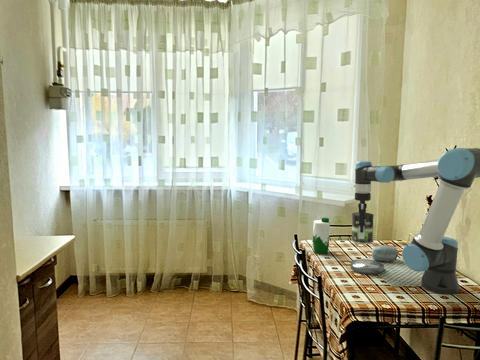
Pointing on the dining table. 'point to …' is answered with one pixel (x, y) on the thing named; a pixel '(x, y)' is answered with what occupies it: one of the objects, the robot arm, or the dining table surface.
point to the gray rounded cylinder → (384, 253)
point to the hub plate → (367, 267)
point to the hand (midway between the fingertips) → (361, 236)
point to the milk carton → (321, 236)
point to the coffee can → (368, 229)
